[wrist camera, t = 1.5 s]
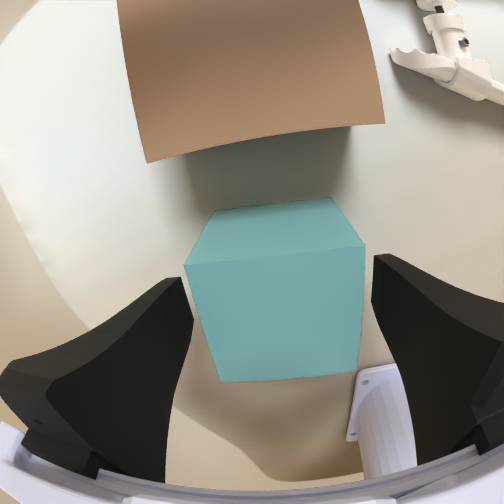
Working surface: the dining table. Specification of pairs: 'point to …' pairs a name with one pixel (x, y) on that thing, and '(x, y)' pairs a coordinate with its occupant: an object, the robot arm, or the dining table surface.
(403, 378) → the robot arm
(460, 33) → the white curved loop
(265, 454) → the dining table surface
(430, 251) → the dining table surface
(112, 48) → the dining table surface
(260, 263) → the teal cube
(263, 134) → the walnut block
